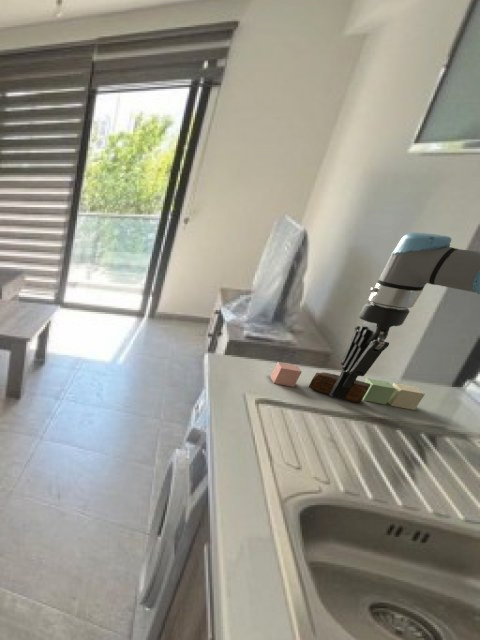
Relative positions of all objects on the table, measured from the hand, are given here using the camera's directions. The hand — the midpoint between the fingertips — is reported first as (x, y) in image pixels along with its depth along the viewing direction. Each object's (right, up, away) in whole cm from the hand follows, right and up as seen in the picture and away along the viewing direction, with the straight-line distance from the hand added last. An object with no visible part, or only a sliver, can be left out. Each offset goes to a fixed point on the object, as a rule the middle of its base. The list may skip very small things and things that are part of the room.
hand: (336, 396), depth 120 cm
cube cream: (+16, -2, +1) cm, 16 cm away
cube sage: (+11, -1, +3) cm, 12 cm away
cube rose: (-6, +4, +10) cm, 12 cm away
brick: (+3, +1, +4) cm, 5 cm away
